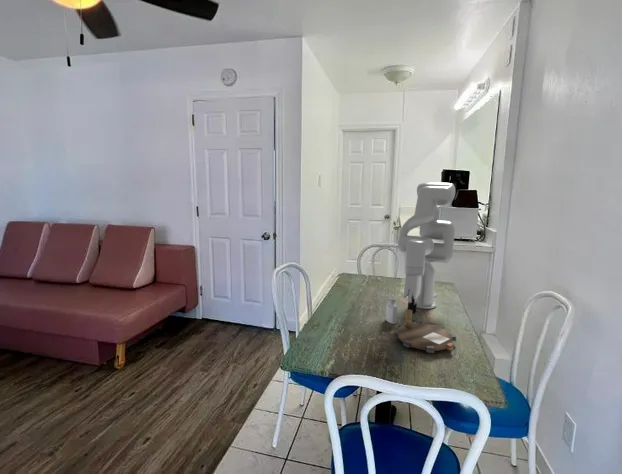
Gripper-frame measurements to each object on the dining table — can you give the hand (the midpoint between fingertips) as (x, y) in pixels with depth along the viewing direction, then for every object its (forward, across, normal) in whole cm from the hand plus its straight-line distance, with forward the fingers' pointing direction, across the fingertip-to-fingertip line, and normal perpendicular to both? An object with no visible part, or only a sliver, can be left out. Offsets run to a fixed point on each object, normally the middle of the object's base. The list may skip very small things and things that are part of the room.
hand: (411, 312), depth 145 cm
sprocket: (+5, +9, +7) cm, 13 cm away
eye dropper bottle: (+7, -3, -9) cm, 12 cm away
